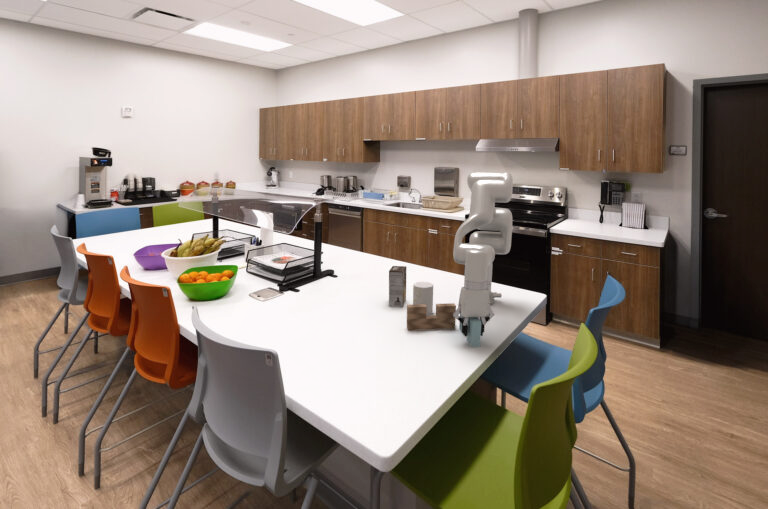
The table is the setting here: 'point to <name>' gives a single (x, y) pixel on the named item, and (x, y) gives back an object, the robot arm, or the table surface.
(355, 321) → the table surface
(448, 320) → the walnut slotted board
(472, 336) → the teal slotted board
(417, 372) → the table surface
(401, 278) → the coffee box
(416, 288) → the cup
